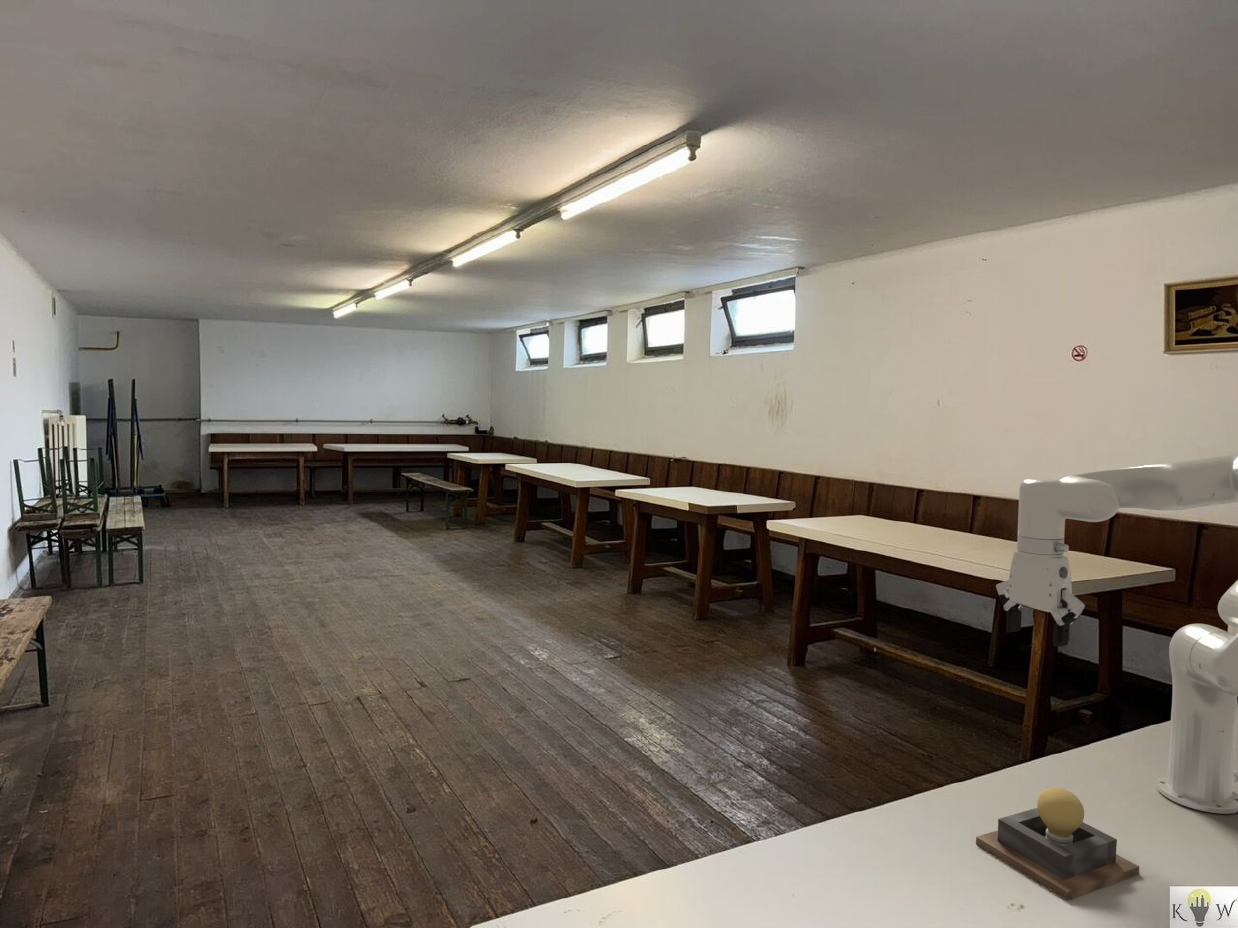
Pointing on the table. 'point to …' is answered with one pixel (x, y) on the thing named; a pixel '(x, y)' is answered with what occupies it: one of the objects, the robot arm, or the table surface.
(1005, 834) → the lamp socket
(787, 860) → the table surface
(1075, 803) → the light bulb
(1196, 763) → the robot arm
